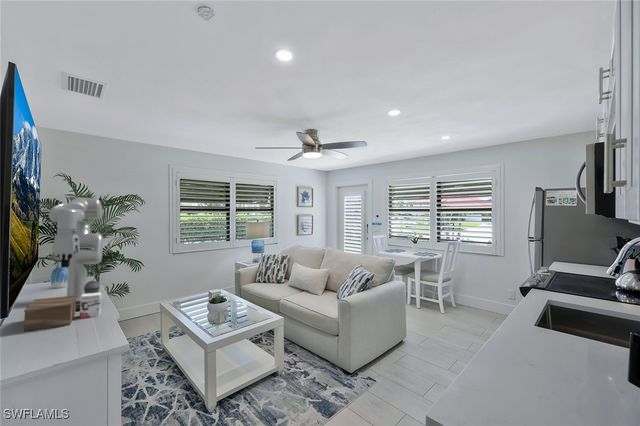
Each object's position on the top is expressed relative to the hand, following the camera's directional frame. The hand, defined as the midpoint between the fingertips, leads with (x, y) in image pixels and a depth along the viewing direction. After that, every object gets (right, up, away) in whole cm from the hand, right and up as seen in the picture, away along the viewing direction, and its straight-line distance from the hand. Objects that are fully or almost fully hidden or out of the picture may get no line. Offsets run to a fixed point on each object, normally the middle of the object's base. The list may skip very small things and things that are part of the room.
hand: (65, 266), depth 146 cm
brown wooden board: (-2, -18, -5) cm, 19 cm away
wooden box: (-2, -27, -5) cm, 28 cm away
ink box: (+9, -28, +5) cm, 30 cm away
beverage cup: (-1, -28, +18) cm, 33 cm away
